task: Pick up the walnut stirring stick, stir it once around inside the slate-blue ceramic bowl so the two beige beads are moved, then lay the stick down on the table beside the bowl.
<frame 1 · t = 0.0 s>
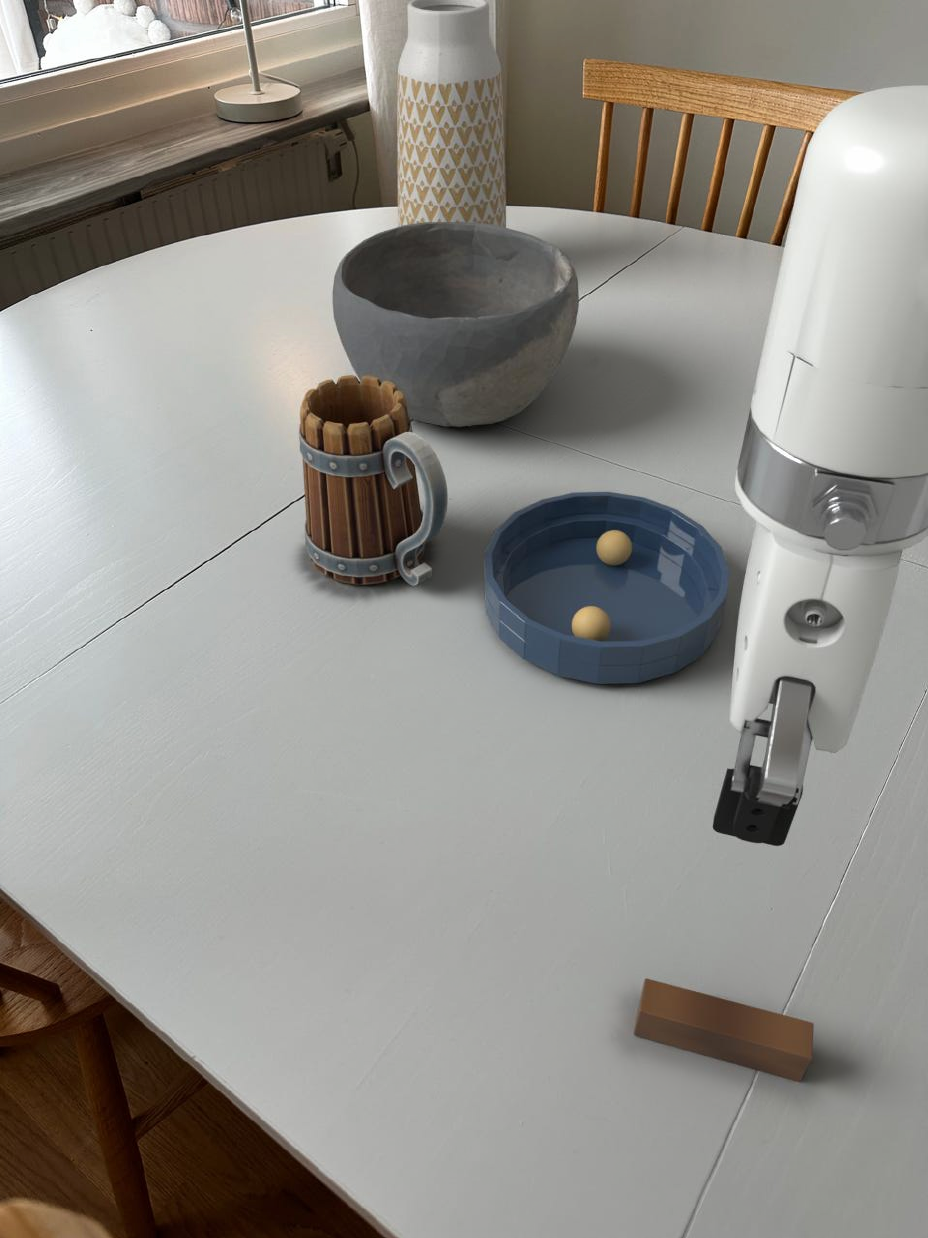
hand: (755, 754, 48), 16 cm above the table, tool pointing down, fingers open, 9 cm apart
stick: (716, 1041, 54), on the table
bead a: (591, 625, 76), point 2 cm above the table, touching mixing bowl
mixing bowl: (601, 604, 81), on the table
bowl: (457, 402, 105), on the table
vase: (453, 274, 129), on the table
bead b: (614, 547, 83), point 2 cm above the table, touching mixing bowl
mug: (385, 565, 85), on the table
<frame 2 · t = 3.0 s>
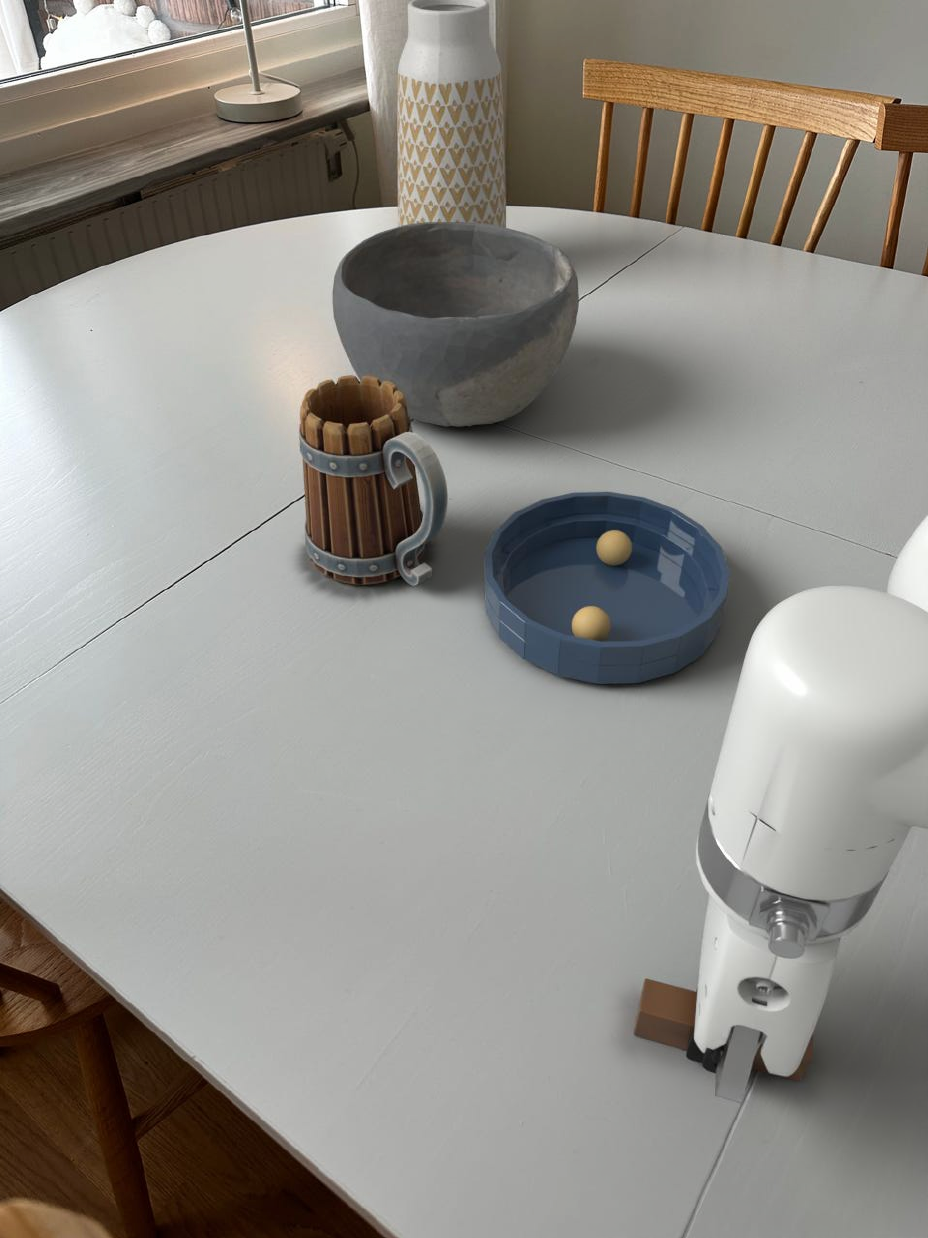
hand: (718, 1037, 54), 1 cm above the table, tool pointing down, fingers closed on stick, 2 cm apart
stick: (716, 1041, 54), on the table, touching gripper
everything else where it was.
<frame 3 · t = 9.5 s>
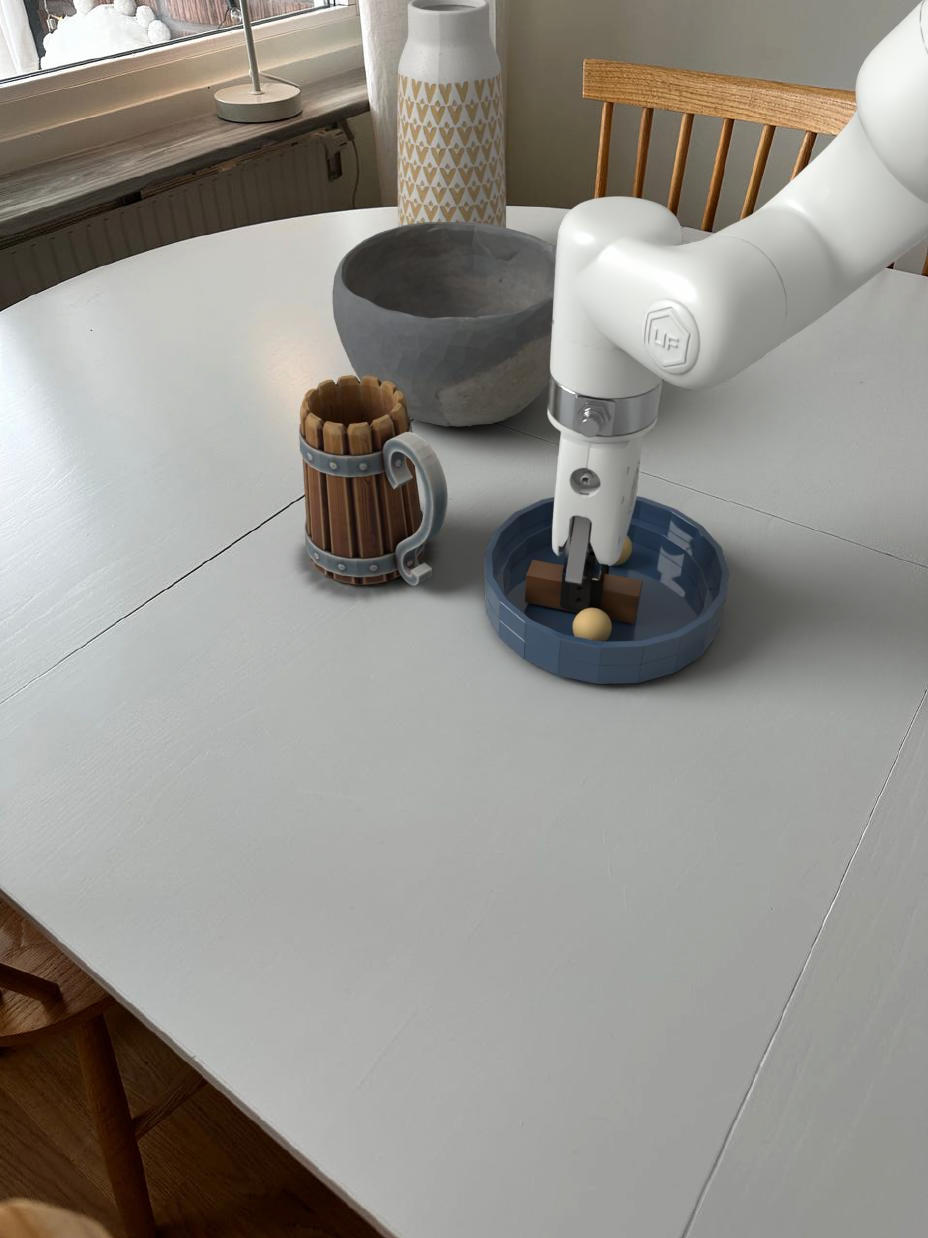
hand: (583, 596, 79), 2 cm above the table, tool pointing down, fingers closed on stick, 2 cm apart
stick: (581, 605, 79), point 1 cm above the table, touching gripper
bead a: (592, 627, 76), point 2 cm above the table, tilted 7°, touching gripper, mixing bowl
everything else where it was.
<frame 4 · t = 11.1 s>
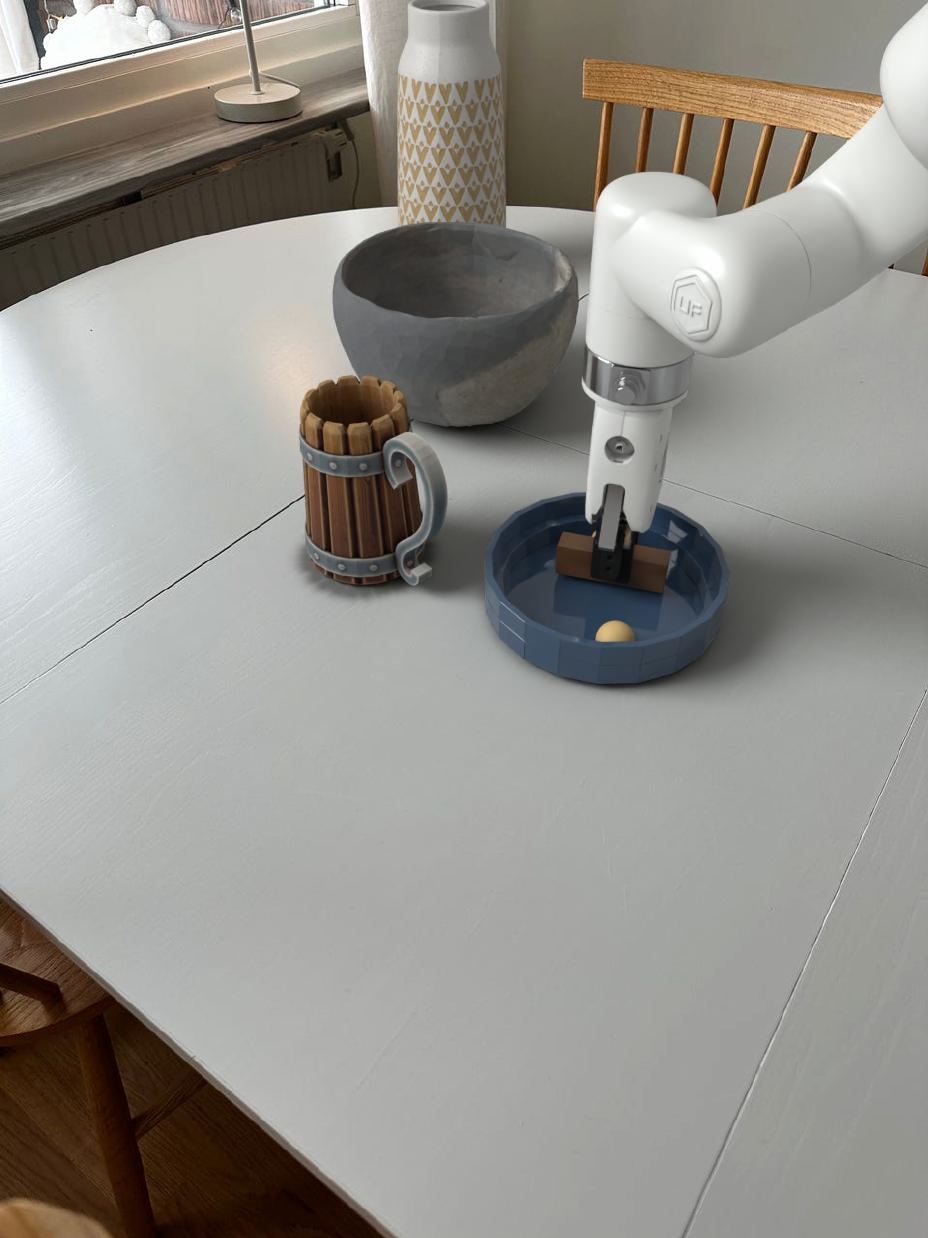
hand: (612, 567, 81), 2 cm above the table, tool pointing down, fingers closed on stick, 2 cm apart
stick: (610, 576, 81), point 1 cm above the table, touching gripper
bead a: (615, 640, 75), point 2 cm above the table, tilted 90°, touching mixing bowl
bead b: (607, 543, 83), point 2 cm above the table, tilted 11°, touching gripper, mixing bowl
everything else where it was.
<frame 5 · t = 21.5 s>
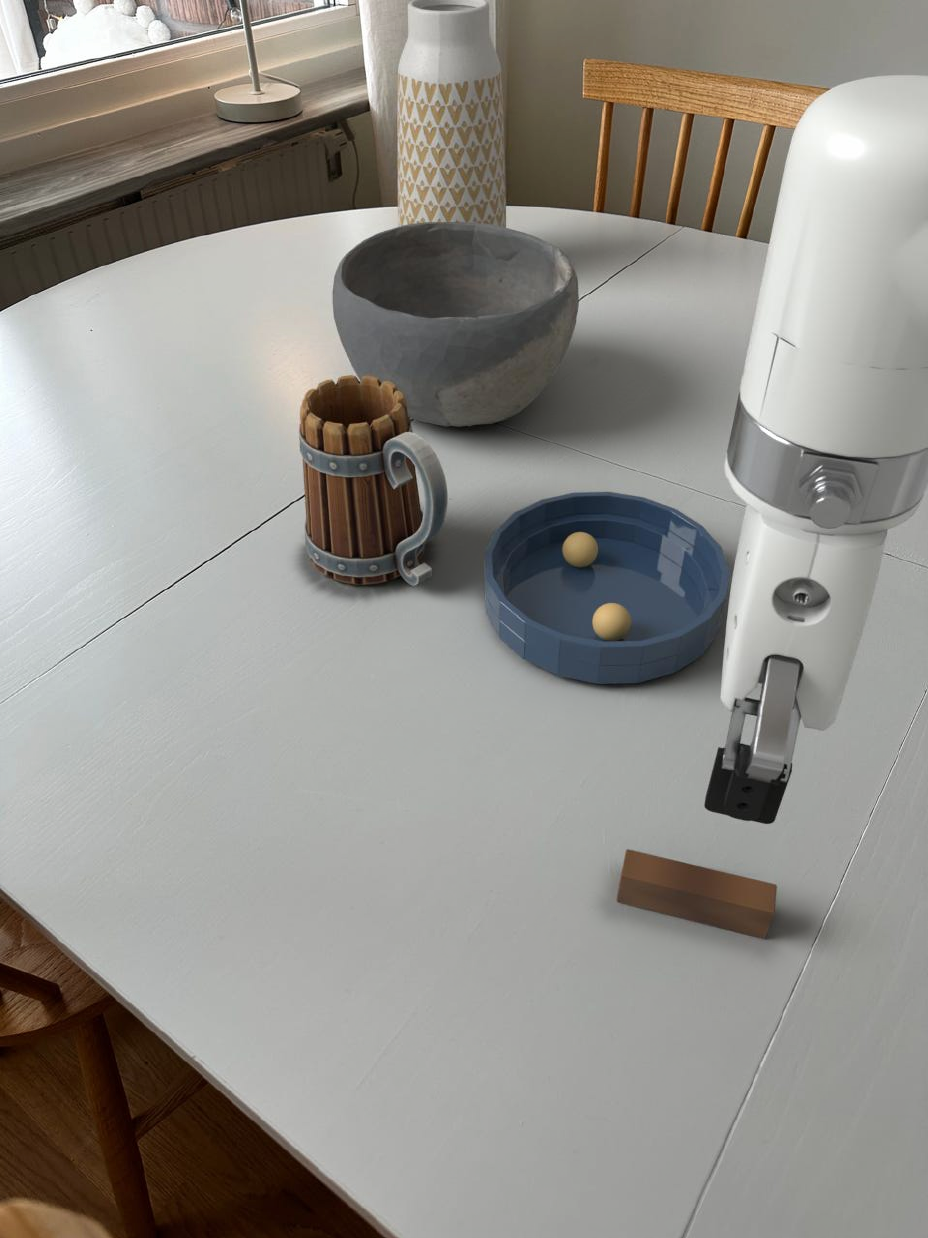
hand: (747, 736, 49), 16 cm above the table, tool pointing down, fingers open, 9 cm apart
stick: (691, 906, 60), on the table
bead a: (611, 622, 76), point 2 cm above the table, tilted 38°, touching mixing bowl
bead b: (580, 549, 83), point 2 cm above the table, tilted 65°, touching mixing bowl
everything else where it was.
at the end: bead a moved 1.7 cm from its start; stick inside the target area (0.4 cm from its centre), on the table; the gripper is holding nothing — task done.
